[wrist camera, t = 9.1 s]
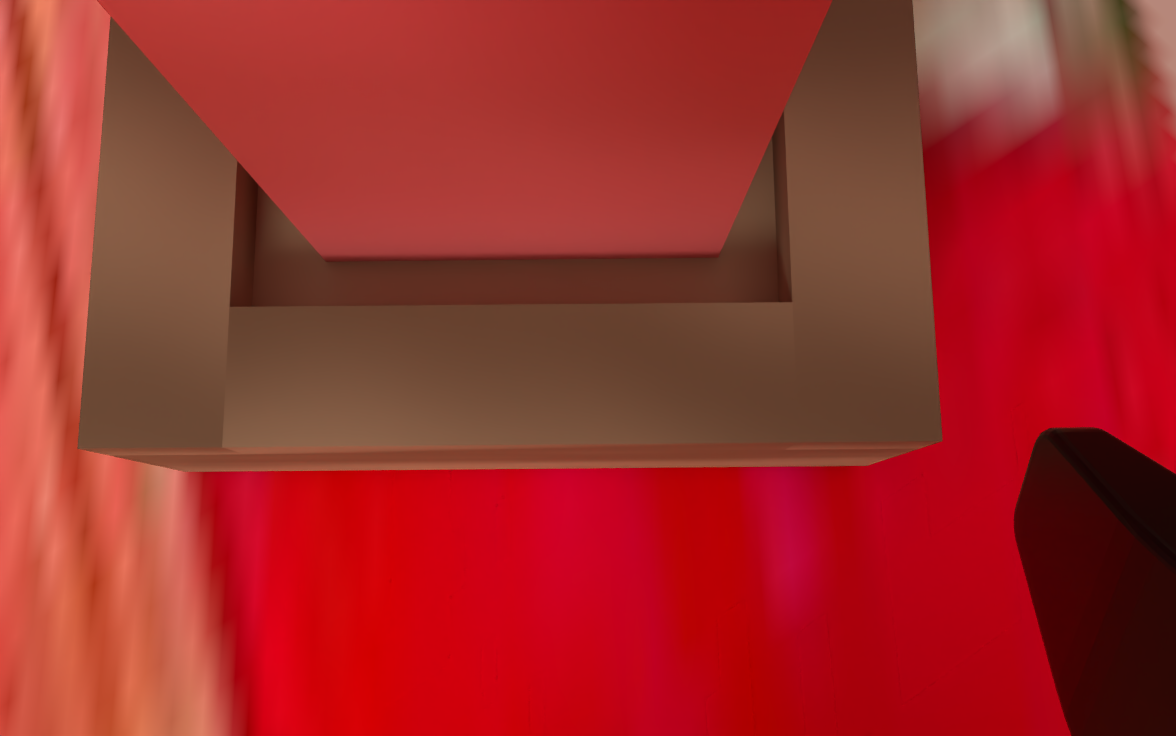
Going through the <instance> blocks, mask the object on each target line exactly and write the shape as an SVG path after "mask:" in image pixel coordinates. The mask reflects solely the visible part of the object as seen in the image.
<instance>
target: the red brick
mask: <svg viewBox="0 0 1176 736" xmlns="http://www.w3.org/2000/svg"><path fill="white" fill-rule="evenodd" d="M97 1H98V2H99V3H100V4H101V6H102V7H103V8H104V9H105V10H106V11H107V12H108V14H109V15H110V16H111V17H112V18H113V19H114V20H115V22H116V23H117V24H118V25H119V26H120V27H121V28H122V30H123V31H124V32H125V33H126V34H127V35H128V36H129V37H130V39H131V40H132V41H133V42H134V43H135V44H136V45H137V47H138V48H139V49H140V50H141V51H142V52H143V53H144V55H145V56H146V57H147V58H148V59H149V60H150V61H151V63H152V64H153V65H154V66H155V67H156V68H157V69H158V71H159V72H160V73H161V74H162V75H163V76H164V77H165V79H166V80H167V81H168V82H169V83H170V84H171V85H172V87H173V88H174V89H175V90H176V91H177V92H178V93H179V95H180V96H181V97H182V98H183V99H184V100H185V101H186V103H187V104H188V105H189V106H190V107H191V108H192V109H193V111H194V112H195V113H196V114H197V115H198V116H199V117H200V119H201V120H202V121H203V122H204V123H205V124H206V125H207V127H208V128H209V129H210V130H211V131H212V132H213V133H214V134H215V136H216V137H217V138H218V139H219V140H220V141H221V142H222V144H223V145H224V146H225V147H226V148H227V149H228V150H229V152H230V153H231V154H232V155H233V156H234V157H235V158H236V160H237V161H238V162H239V163H240V164H241V165H242V166H243V168H244V169H245V170H246V171H247V172H248V173H249V174H250V176H251V177H252V178H253V179H254V180H255V181H256V182H257V184H258V185H259V186H260V187H261V188H262V189H263V190H264V192H265V193H266V194H267V195H268V196H269V197H270V198H271V200H272V201H273V202H274V203H275V204H276V205H277V206H278V208H279V209H280V210H281V211H282V212H283V213H284V214H285V216H286V217H287V218H288V219H289V220H290V221H291V222H292V224H293V225H294V226H295V227H296V228H297V229H298V230H299V231H300V233H301V234H302V235H303V236H304V237H305V238H306V239H307V241H308V242H309V243H310V244H311V245H312V246H313V247H314V249H315V250H316V251H317V252H318V253H319V254H320V255H321V257H322V258H323V259H324V260H325V261H326V262H348V261H443V260H537V259H631V258H718V257H719V254H720V252H721V250H722V248H723V245H724V243H725V241H726V239H727V236H728V234H729V232H730V230H731V227H732V225H733V223H734V221H735V218H736V216H737V214H738V212H739V209H740V207H741V205H742V203H743V200H744V198H745V196H746V194H747V191H748V189H749V187H750V185H751V182H752V180H753V178H754V176H755V173H756V171H757V169H758V167H759V164H760V162H761V160H762V158H763V155H764V153H765V151H766V149H767V146H768V144H769V142H770V140H771V137H772V135H773V133H774V131H775V128H776V126H777V124H778V122H779V119H780V117H781V115H782V113H783V110H784V108H785V106H786V104H787V101H788V99H789V97H790V95H791V92H792V90H793V88H794V86H795V83H796V81H797V79H798V77H799V74H800V72H801V70H802V68H803V65H804V63H805V61H806V59H807V56H808V54H809V52H810V50H811V47H812V45H813V43H814V41H815V38H816V36H817V34H818V32H819V29H820V27H821V25H822V23H823V20H824V18H825V16H826V14H827V11H828V9H829V7H830V5H831V2H832V0H97Z"/></svg>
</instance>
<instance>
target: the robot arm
mask: <svg viewBox="0 0 1176 736" xmlns="http://www.w3.org/2000/svg"><path fill="white" fill-rule="evenodd" d="M1014 532H1015V538H1016V543H1017V547H1018V550H1019V554H1020V558H1021V561H1022V565H1023V569H1024V572H1025V576H1026V580H1027V583H1028V587H1029V591H1030V595H1031V598H1032V602H1033V606H1034V609H1035V613H1036V617H1037V620H1038V624H1039V628H1040V631H1041V635H1042V639H1043V642H1044V646H1045V650H1046V654H1047V657H1048V661H1049V665H1050V668H1051V672H1052V676H1053V679H1054V683H1055V687H1056V690H1057V693H1058V697H1059V700H1060V703H1061V707H1062V710H1063V713H1064V717H1065V719H1066V722H1067V725H1068V727H1069V730H1070V733H1071V735H1072V736H1176V474H1175V473H1173V472H1171V471H1170V470H1168V469H1166V468H1165V467H1163V466H1162V465H1160V464H1158V463H1157V462H1155V461H1153V460H1152V459H1150V458H1149V457H1147V456H1145V455H1144V454H1142V453H1140V452H1139V451H1137V450H1135V449H1134V448H1132V447H1131V446H1129V445H1127V444H1126V443H1124V442H1122V441H1121V440H1119V439H1118V438H1116V437H1114V436H1113V435H1111V434H1109V433H1108V432H1106V431H1104V430H1102V429H1098V428H1093V427H1075V428H1049V429H1047V430H1045V431H1044V432H1042V433H1041V434H1040V435H1039V437H1038V438H1037V440H1036V442H1035V445H1034V447H1033V451H1032V454H1031V457H1030V461H1029V464H1028V467H1027V471H1026V474H1025V477H1024V481H1023V484H1022V487H1021V491H1020V494H1019V497H1018V501H1017V504H1016V508H1015V514H1014Z"/></svg>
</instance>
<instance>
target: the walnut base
mask: <svg viewBox="0 0 1176 736" xmlns="http://www.w3.org/2000/svg"><path fill="white" fill-rule="evenodd" d="M941 441H942V428H941V413H940V399H939V384H938V370H937V355H936V340H935V326H934V311H933V297H932V282H931V267H930V253H929V238H928V224H927V209H926V195H925V180H924V165H923V151H922V136H921V122H920V107H919V93H918V78H917V63H916V49H915V34H914V20H913V5H912V0H832V2H831V5H830V7H829V9H828V11H827V14H826V16H825V18H824V20H823V23H822V25H821V27H820V29H819V32H818V34H817V36H816V38H815V41H814V43H813V45H812V47H811V50H810V52H809V54H808V56H807V59H806V61H805V63H804V65H803V68H802V70H801V72H800V74H799V77H798V79H797V81H796V83H795V86H794V88H793V90H792V92H791V95H790V97H789V99H788V101H787V104H786V106H785V108H784V110H783V113H782V115H781V117H780V119H779V122H778V124H777V126H776V128H775V131H774V133H773V135H772V137H771V140H770V142H769V144H768V146H767V149H766V151H765V153H764V155H763V158H762V160H761V162H760V164H759V167H758V169H757V171H756V173H755V176H754V178H753V180H752V182H751V185H750V187H749V189H748V191H747V194H746V196H745V198H744V200H743V203H742V205H741V207H740V209H739V212H738V214H737V216H736V218H735V221H734V223H733V225H732V227H731V230H730V232H729V234H728V236H727V239H726V241H725V243H724V245H723V248H722V250H721V252H720V254H719V257H718V258H631V259H537V260H443V261H348V262H326V261H325V260H324V259H323V258H322V257H321V255H320V254H319V253H318V252H317V251H316V250H315V249H314V247H313V246H312V245H311V244H310V243H309V242H308V241H307V239H306V238H305V237H304V236H303V235H302V234H301V233H300V231H299V230H298V229H297V228H296V227H295V226H294V225H293V224H292V222H291V221H290V220H289V219H288V218H287V217H286V216H285V214H284V213H283V212H282V211H281V210H280V209H279V208H278V206H277V205H276V204H275V203H274V202H273V201H272V200H271V198H270V197H269V196H268V195H267V194H266V193H265V192H264V190H263V189H262V188H261V187H260V186H259V185H258V184H257V182H256V181H255V180H254V179H253V178H252V177H251V176H250V174H249V173H248V172H247V171H246V170H245V169H244V168H243V166H242V165H241V164H240V163H239V162H238V161H237V160H236V158H235V157H234V156H233V155H232V154H231V153H230V152H229V150H228V149H227V148H226V147H225V146H224V145H223V144H222V142H221V141H220V140H219V139H218V138H217V137H216V136H215V134H214V133H213V132H212V131H211V130H210V129H209V128H208V127H207V125H206V124H205V123H204V122H203V121H202V120H201V119H200V117H199V116H198V115H197V114H196V113H195V112H194V111H193V109H192V108H191V107H190V106H189V105H188V104H187V103H186V101H185V100H184V99H183V98H182V97H181V96H180V95H179V93H178V92H177V91H176V90H175V89H174V88H173V87H172V85H171V84H170V83H169V82H168V81H167V80H166V79H165V77H164V76H163V75H162V74H161V73H160V72H159V71H158V69H157V68H156V67H155V66H154V65H153V64H152V63H151V61H150V60H149V59H148V58H147V57H146V56H145V55H144V53H143V52H142V51H141V50H140V49H139V48H138V47H137V45H136V44H135V43H134V42H133V41H132V40H131V39H130V37H129V36H128V35H127V34H126V33H125V32H124V31H123V30H122V28H121V27H120V26H119V25H118V24H117V23H116V22H115V20H114V19H113V18H112V17H111V19H110V32H109V45H108V58H107V71H106V84H105V97H104V110H103V123H102V136H101V149H100V162H99V175H98V189H97V202H96V215H95V228H94V241H93V254H92V267H91V280H90V293H89V306H88V319H87V332H86V345H85V358H84V371H83V384H82V397H81V410H80V423H79V436H78V449H82V450H86V451H91V452H96V453H100V454H105V455H110V456H114V457H119V458H124V459H128V460H133V461H138V462H142V463H147V464H152V465H156V466H161V467H166V468H170V469H175V470H180V471H185V472H204V471H318V470H432V469H545V468H659V467H773V466H867V465H870V464H873V463H877V462H880V461H883V460H886V459H889V458H892V457H895V456H898V455H901V454H904V453H907V452H910V451H913V450H917V449H920V448H923V447H926V446H929V445H932V444H935V443H938V442H941Z"/></svg>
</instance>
